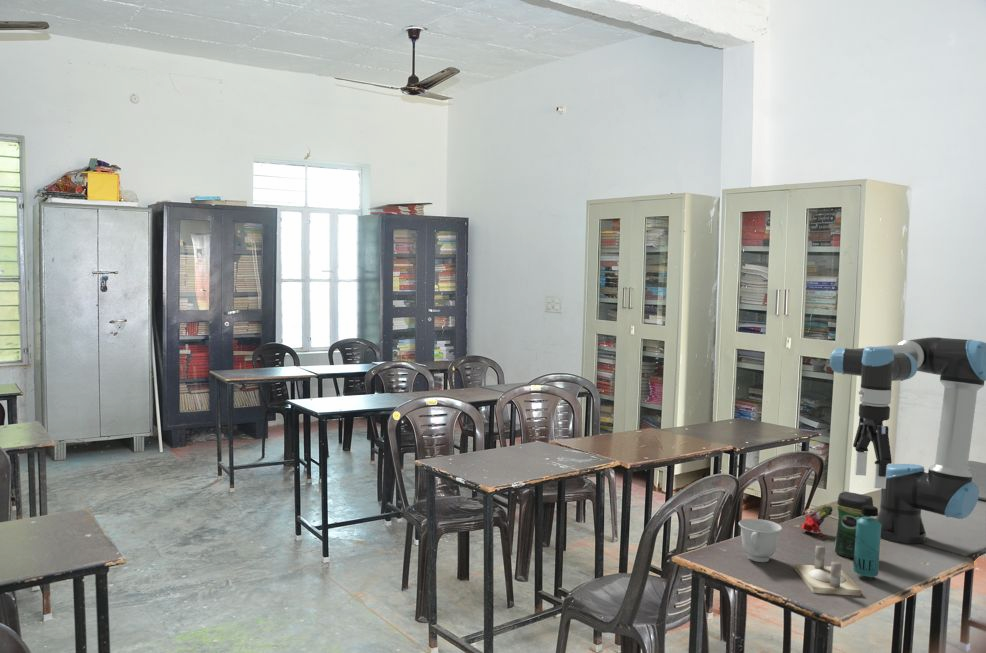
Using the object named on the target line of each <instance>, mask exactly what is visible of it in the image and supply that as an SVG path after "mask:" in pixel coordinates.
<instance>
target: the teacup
mask: <svg viewBox="0 0 986 653" xmlns="http://www.w3.org/2000/svg"><path fill="white" fill-rule="evenodd" d="M738 526H740V531H741V543H742V548H743V550H744V552H745V553H747V554H748V555H747V557H748V559H749V560H750V561H752V562H753V561H754V562H756V563H758V562H759V563H766V562H770V561H769V560H770V558H769V557H772V556H773V555H774V554H776V551H777V547H778V542H779V536H780V533H781V531H782V530H783V527H782V526H781V525H780V524H779V523H777V522H774V521H772V520H767V519H761V518H743V519H741V520H739V522H738Z"/></svg>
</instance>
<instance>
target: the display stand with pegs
mask: <svg viewBox="0 0 986 653" xmlns="http://www.w3.org/2000/svg"><path fill="white" fill-rule="evenodd" d="M825 553H826V547H825V546H824V545H815V552H814V565H811V564H794V571H795V572H796V573H797V574H798V576H799V577H800V578H801V579H802V581H803V582H804V583H805V585H806V586H807V587H808V589H809V590H810V591H811V592H812V593H813V594H828V595H840V596H841V595H844V596H858V597H859V596H860V597H861V596H862V589H861V588H860V587H859V586H858V585H857V584H856V582H854V581H853V580H852V579H851V578H850V577H849V575H848V574H846V573H845V571H843V570H842V563H841V562H839V561H831V562H830V566H827V565H826V566H825V558H826V557H825V555H826V554H825Z"/></svg>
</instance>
